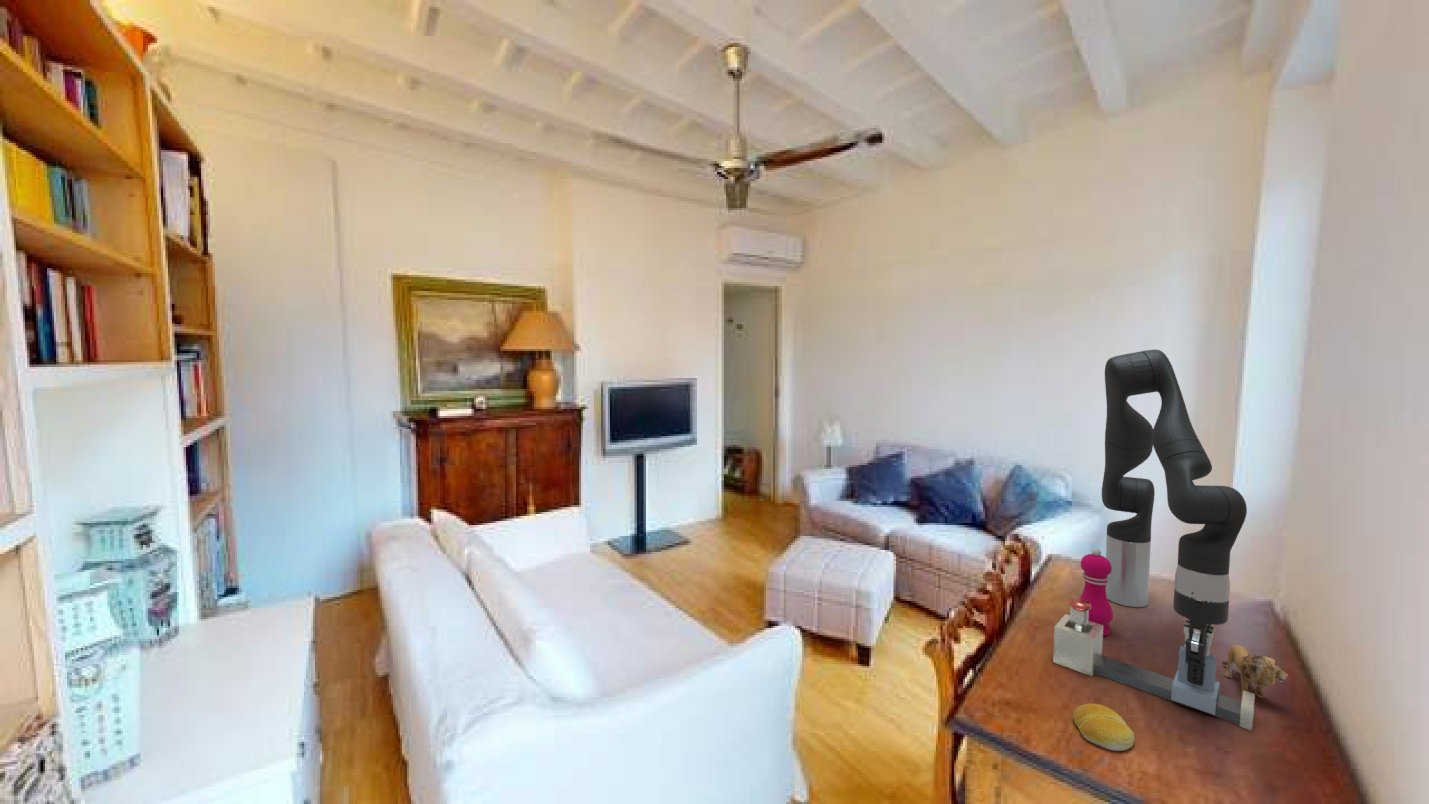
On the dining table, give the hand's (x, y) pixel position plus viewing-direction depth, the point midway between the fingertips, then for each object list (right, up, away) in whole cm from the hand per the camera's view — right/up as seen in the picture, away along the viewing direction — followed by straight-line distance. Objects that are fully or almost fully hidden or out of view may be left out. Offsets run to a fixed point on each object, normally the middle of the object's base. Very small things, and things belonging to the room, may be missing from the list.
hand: (1196, 679), depth 99 cm
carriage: (0, -5, 0) cm, 5 cm away
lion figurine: (+14, -4, +4) cm, 16 cm away
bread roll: (-23, -6, -7) cm, 25 cm away
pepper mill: (0, -2, +27) cm, 27 cm away
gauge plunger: (-13, +4, +14) cm, 19 cm away
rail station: (-5, -4, +6) cm, 9 cm away
